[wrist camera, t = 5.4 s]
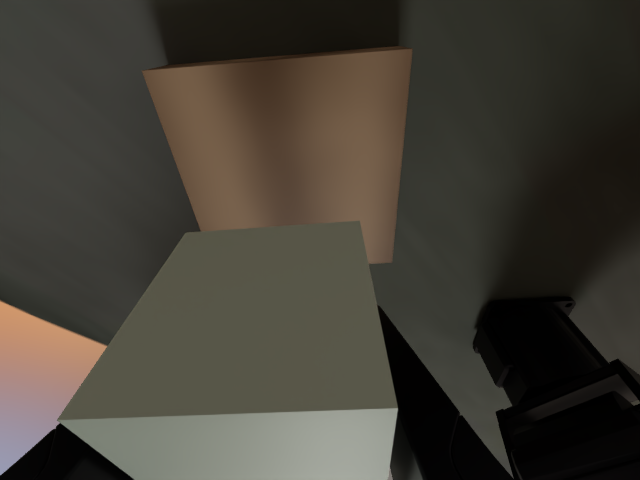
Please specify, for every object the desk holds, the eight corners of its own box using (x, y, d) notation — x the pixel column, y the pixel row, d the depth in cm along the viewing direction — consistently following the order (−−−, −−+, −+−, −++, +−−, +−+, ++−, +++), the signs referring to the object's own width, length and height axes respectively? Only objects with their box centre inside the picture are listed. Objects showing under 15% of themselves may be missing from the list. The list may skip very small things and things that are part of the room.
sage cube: (359, 220, 8) (398, 408, 4) (360, 333, 11) (383, 510, 7) (185, 232, 8) (56, 420, 4) (230, 339, 11) (179, 514, 7)
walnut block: (396, 45, 14) (412, 48, 12) (383, 234, 20) (392, 262, 18) (172, 64, 14) (141, 70, 12) (228, 243, 21) (215, 271, 18)
